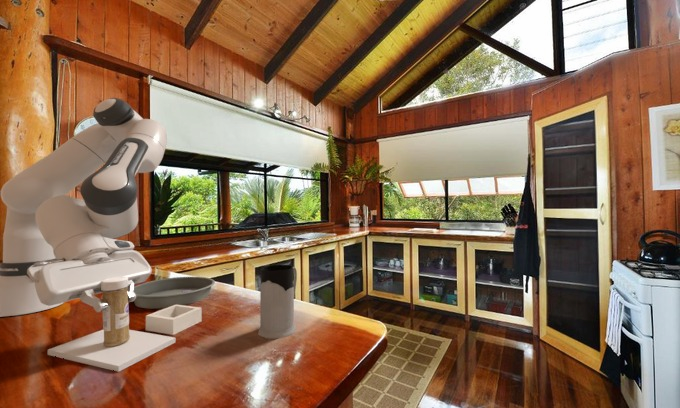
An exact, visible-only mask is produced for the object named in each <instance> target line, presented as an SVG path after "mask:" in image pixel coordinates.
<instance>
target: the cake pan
mask: <svg viewBox="0 0 680 408" xmlns="http://www.w3.org/2000/svg"><path fill="white" fill-rule="evenodd" d="M215 284H216V281H215V280H214V279H213V278H209V277H206V276H179V277H178V276H177V277H170V278H169V277H168V278H161V279H155V280H151V281H147V282H146V281H145V282H142V283H138V284H136V285H134V290H133V292H134V293H135V295H136V299H135V300H134V301H133V302H134V305H135V306H136V307H138V308H140V309H141V308H143V309H152V310H153V309H154V310H155V309H165V308H168V307H171V306H173V305H176V304H177V305H184V306H188V305H190V304H194V303H197V302H200V301H202V300H204V299H206V298H208V297H209V295H210V293H211V289H212V287H213V286H214V285H215ZM184 290H189V291H185V292H184Z"/></svg>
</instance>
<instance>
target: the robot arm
mask: <svg viewBox="0 0 680 408" xmlns="http://www.w3.org/2000/svg"><path fill="white" fill-rule="evenodd" d="M92 116H93V117H94V119H95V121H96V123H95V124H93V125H91V126H88V127H86V128H85V129H83V130H81V131H79V132H78V133H76V134H75V135H74V136H72V137H71V138H70V139H68V140H66V141H65V142H64V143H63V144H61V145H60V146H59V147H57V148H56V149H55V150H53V151H52V152H51V153H49V154H47V155H46V156H44V157H43V158H41V159H39V160H38V161H36V162H34V163H33V164H32V165H29V166H28V167H27V168H25V169H24V170H22V171H20V172H19V173H18V174H16V175H15V176H13V177H12V178H10V179H9V180H7V181H6V182H5V183H4V184H3V185H2V187H1V190H0V198H1V202H3V204H4V205H5V206H6V214H5V215H6V217H5V223H4V224H5V225H4V231H3V233H2V234H3V235H2V236H3V239H2V240H3V241H2V262H1V263H0V318H2V317H4V318H5V317H10V316H12V317H13V316H22V315H27V314H33V313H36V312H37V313H38V312H41V311H45V310H49V309H50V310H51V309H53V308H57V307H59V306H61V305H63V304H64V303H66V302H71V301H75V300H78V299H80V301H81V302H82V303H84V304H86V305H88V306H90V307H93V309H94V311H95V312H96V313H100V312H103V310H106V308H107V307H108V303H107V302H106V299H103V298H101V299H100V298H99V297H97V296H95V295H97V294H101V293H102V290H101V282H102V281H103V280H105V279H109V278H114V277H128V284H129V285H128V286H127V287H128V288H127V289H128V304H129V303H132V302H134V300H135V299H136V295H135V293H134V292H133V290H134V286H135V285H138V284H142V283H146V281H147V280H148V279H149V277H150V276H151V275H152V272H153V269H152V267H151V265H150V263H149V262H148V261H147V259H145V257H144V256H143V255H142V253H140V252H139V251H137V250H134V249H135V245H134V243H133V242H132V241H128V240H121V239H119V238H121V237H125V236H127V235H129V234H131V233H132V232H133V231H134V230H136V229H137V227H138V224H139V206H138V184H137V180H136V176H137V173H138V174H147V173H151V172H155V171H156V170H157V168H158V167H159V165H160V164H161V162H162V160H163V158H164V154H165V152H166V147H167V140H168V139H167V130H166V128H165V127H164V126H163V125H162V124H161V123H160V122H158V121H157V120H154V119H149V118H143V117H142V116H141V115H140V114H139V113H138V112H137V111H135V110H134V108H133V107H132V106H131V105H130V104H129V103H128V102H126V101H125V100H123V99H121V98H117V97H112V98H108V99H105V100H102V101H101V102H99V103H98V104H97V105H96V106H95V108H94V109H93V113H92ZM78 185H80V188H79V189H80V191H79V192H80V194H81V197H82V198H77V197H73V196H70V195H68V194H69V193H70V192H72V191H73V190H74V189H75V188H77V187H78Z"/></svg>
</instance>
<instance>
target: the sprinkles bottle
mask: <svg viewBox="0 0 680 408" xmlns="http://www.w3.org/2000/svg"><path fill="white" fill-rule="evenodd" d="M128 285H129V284H128V277H114V278H109V279H105V280H103V281H102V282H101V290H102V299H106V302H107V303H108V307H107V308H106V310H103V311H102V330H104V343H103V344H104V346H108V347H110V346H117V345H120V344H122V343H125V342H126V341H128V340H129V339H130V335H129V330H130V325H129V324H130V314H129V313H130V311H129V307H130V306H129V303H128V289H127V288H128V287H127V286H128Z"/></svg>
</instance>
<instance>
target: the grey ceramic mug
mask: <svg viewBox="0 0 680 408" xmlns="http://www.w3.org/2000/svg"><path fill="white" fill-rule="evenodd" d="M260 271H261V272H260V273H261V274H260V276H261V277H260V278H261V279H260V282H261V283H260V286H259V287H260V288H259V289H260V290H259V291H260V299H259V300H260V305H259V306H260V308H259V309H260V311H259V312H260V313H259V314H260V315H259V317H260V324H259V325H260V326H259V329H258V335H259V336H260V337H261V338H264V339H271V340H273V339H274V340H275V339H282V338H286V337H289V336H291V335H293V334H294V333H295V332H296V330H297V329H296V326H295V320H294V319H295V316H294V315H295V314H294V313H295V312H294V311H295V308H294V307H295V304H294V303H295V302H294V301H295V299H294V298H295V294H296V293H295V292H296V287H297V280H298V273H297V268H296V267H295V266H293V265H288V264H271V265H266V266H263V267H261V268H260Z"/></svg>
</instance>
